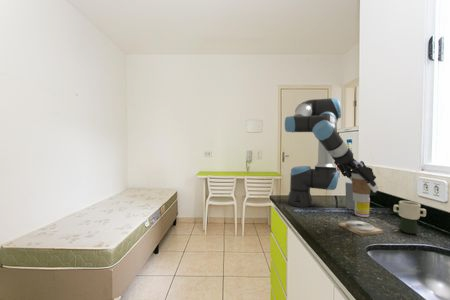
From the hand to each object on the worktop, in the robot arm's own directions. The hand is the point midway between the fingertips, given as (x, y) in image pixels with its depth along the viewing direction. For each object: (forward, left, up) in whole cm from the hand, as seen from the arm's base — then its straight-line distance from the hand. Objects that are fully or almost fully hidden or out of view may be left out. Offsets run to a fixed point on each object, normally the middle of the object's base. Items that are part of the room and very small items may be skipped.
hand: (367, 187), depth 98 cm
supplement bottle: (-14, +14, -19) cm, 27 cm away
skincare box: (-23, +19, -19) cm, 35 cm away
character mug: (+8, +15, -19) cm, 25 cm away
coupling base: (0, -3, -18) cm, 19 cm away
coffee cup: (0, -4, -6) cm, 7 cm away
